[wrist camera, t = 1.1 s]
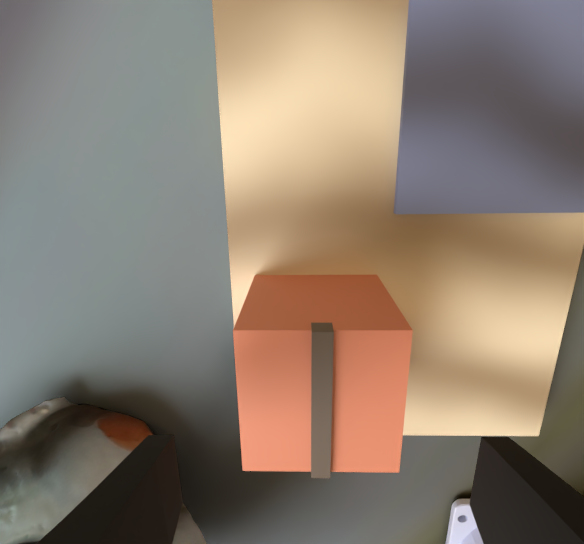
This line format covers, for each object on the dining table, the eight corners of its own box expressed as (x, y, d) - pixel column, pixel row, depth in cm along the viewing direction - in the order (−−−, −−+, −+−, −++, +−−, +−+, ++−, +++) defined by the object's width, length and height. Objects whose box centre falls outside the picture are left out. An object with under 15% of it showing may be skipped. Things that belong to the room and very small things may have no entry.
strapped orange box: (370, 381, 16) (400, 479, 11) (259, 381, 16) (241, 477, 12) (376, 273, 15) (414, 332, 10) (254, 273, 15) (231, 332, 10)
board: (523, 418, 18) (579, 483, 15) (244, 416, 19) (231, 480, 15) (623, -44, 12) (756, -126, 9) (217, -32, 13) (183, -107, 9)
